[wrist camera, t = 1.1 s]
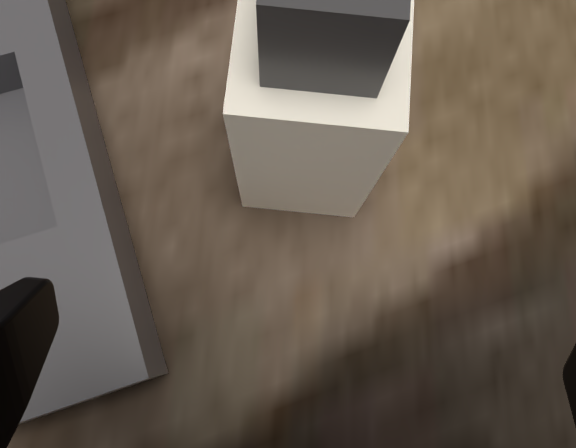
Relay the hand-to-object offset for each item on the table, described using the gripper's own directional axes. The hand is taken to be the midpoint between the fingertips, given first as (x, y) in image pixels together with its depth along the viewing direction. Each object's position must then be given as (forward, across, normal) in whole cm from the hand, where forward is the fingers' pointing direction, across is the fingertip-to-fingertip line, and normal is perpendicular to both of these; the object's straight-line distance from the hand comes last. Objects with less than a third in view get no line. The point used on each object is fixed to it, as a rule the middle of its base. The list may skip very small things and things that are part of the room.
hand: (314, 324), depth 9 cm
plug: (+15, 0, +4) cm, 16 cm away
